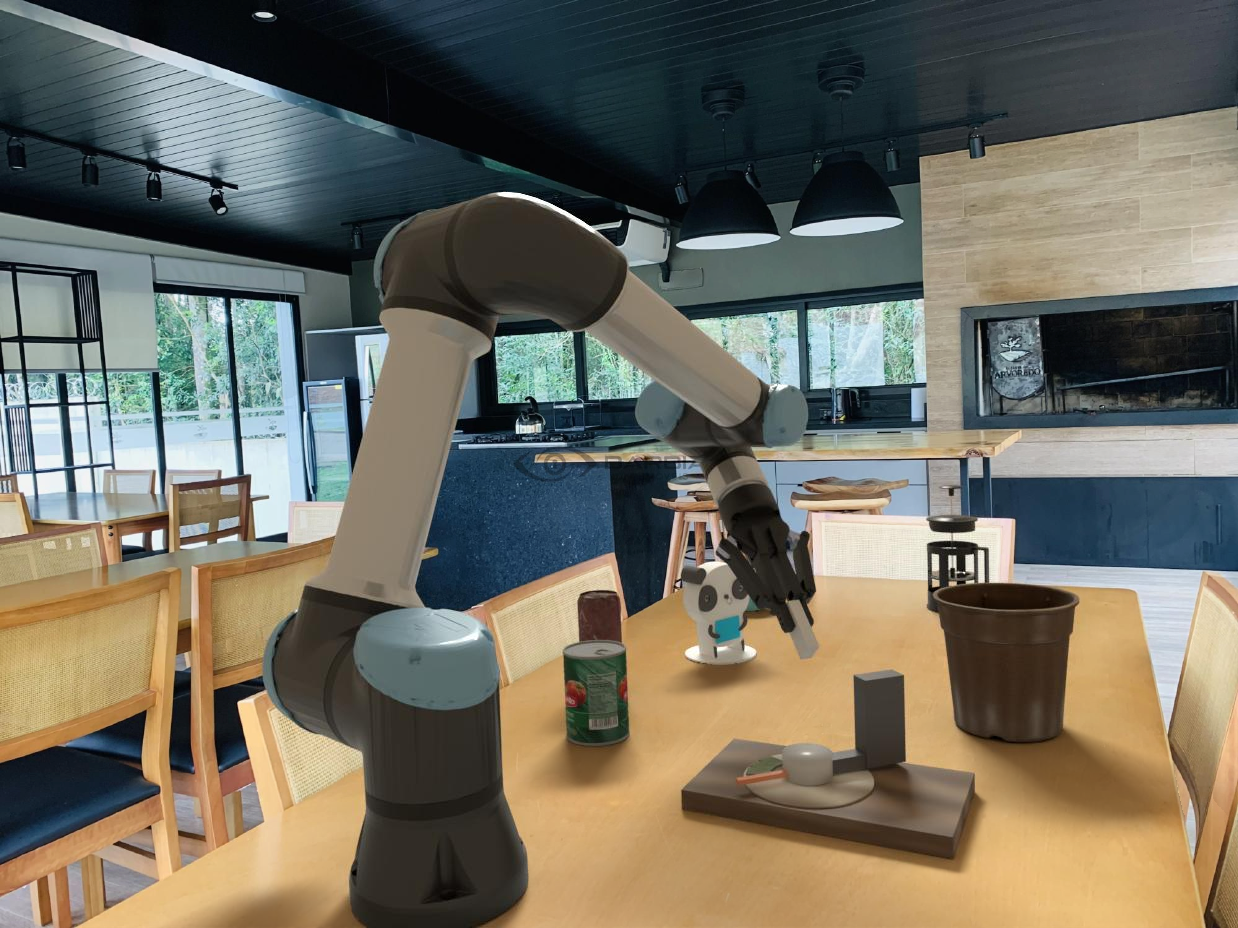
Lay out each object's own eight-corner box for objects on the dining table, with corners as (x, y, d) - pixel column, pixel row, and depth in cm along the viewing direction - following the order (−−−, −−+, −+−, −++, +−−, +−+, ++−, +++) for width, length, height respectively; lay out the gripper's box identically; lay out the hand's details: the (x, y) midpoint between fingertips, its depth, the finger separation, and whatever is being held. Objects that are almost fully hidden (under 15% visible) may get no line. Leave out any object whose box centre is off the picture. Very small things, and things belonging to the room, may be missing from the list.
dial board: (953, 859, 81) (952, 831, 81) (681, 808, 93) (680, 784, 93) (974, 791, 94) (974, 767, 94) (734, 755, 107) (734, 734, 106)
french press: (915, 609, 172) (912, 486, 170) (934, 600, 179) (932, 481, 178) (979, 617, 165) (977, 488, 163) (996, 606, 172) (995, 483, 170)
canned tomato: (553, 735, 116) (549, 648, 115) (602, 719, 121) (599, 636, 120) (593, 752, 110) (589, 660, 109) (643, 734, 115) (639, 647, 114)
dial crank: (748, 797, 90) (745, 703, 89) (727, 777, 94) (724, 688, 94) (913, 767, 95) (912, 678, 94) (886, 750, 100) (884, 665, 99)
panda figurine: (715, 670, 140) (711, 572, 139) (667, 655, 149) (663, 563, 148) (771, 654, 147) (768, 561, 146) (722, 641, 156) (719, 553, 155)
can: (621, 696, 129) (616, 597, 128) (577, 695, 131) (572, 597, 130) (629, 683, 135) (625, 588, 134) (587, 682, 137) (582, 588, 136)
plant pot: (907, 715, 117) (905, 589, 116) (1008, 696, 123) (1006, 576, 122) (1002, 760, 102) (1000, 616, 101) (1112, 736, 108) (1111, 599, 107)
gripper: (778, 512, 129) (846, 661, 114) (691, 520, 125) (750, 676, 110) (796, 477, 123) (870, 629, 109) (705, 484, 119) (769, 643, 105)
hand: (809, 652), depth 109 cm, fingers closed
